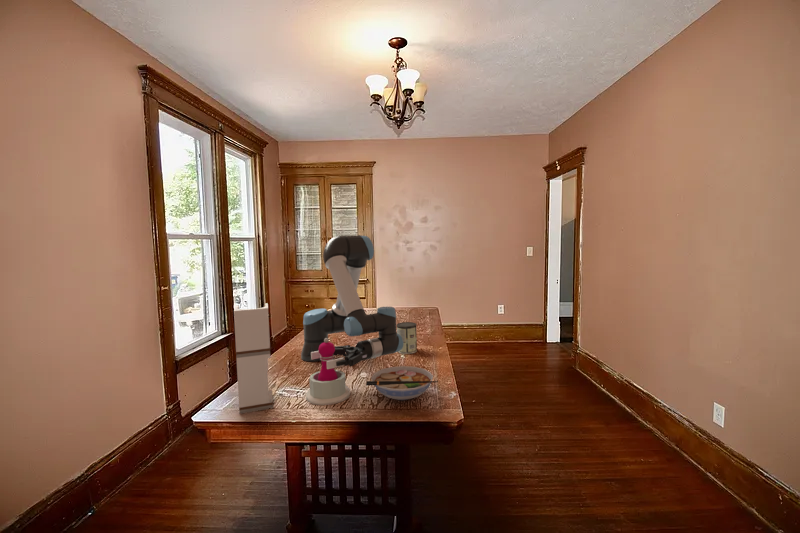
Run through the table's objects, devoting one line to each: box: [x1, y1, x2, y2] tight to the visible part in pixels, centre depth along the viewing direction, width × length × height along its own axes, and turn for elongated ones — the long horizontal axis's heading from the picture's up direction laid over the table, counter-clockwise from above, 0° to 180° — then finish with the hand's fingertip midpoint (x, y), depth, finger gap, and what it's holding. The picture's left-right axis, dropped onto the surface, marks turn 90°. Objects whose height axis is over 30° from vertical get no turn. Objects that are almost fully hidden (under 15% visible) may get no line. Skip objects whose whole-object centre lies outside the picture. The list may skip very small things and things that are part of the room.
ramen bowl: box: [365, 365, 439, 401], centre depth 133 cm, size 25×23×8 cm
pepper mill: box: [318, 337, 338, 381], centre depth 135 cm, size 7×7×20 cm
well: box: [305, 369, 351, 406], centre depth 135 cm, size 16×16×8 cm
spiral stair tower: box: [233, 302, 274, 414], centre depth 129 cm, size 11×11×35 cm
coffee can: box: [396, 321, 418, 355], centre depth 188 cm, size 10×10×14 cm
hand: (318, 360), depth 133 cm, fingers open, 13 cm apart
